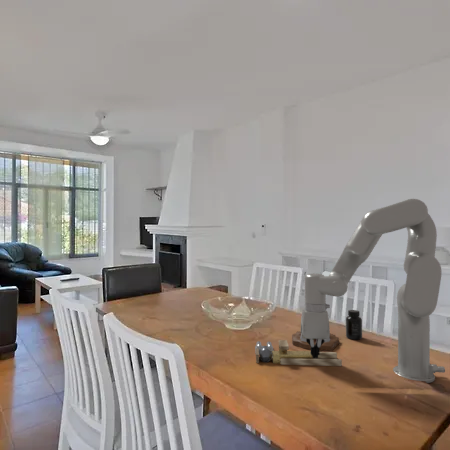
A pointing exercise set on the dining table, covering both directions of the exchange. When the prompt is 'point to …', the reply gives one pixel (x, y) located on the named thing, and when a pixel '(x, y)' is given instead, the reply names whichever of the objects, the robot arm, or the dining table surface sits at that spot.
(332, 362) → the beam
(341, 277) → the robot arm
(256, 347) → the v block
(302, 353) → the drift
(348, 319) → the supplement bottle
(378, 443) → the dining table surface
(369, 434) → the dining table surface
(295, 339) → the plant
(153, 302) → the dining table surface
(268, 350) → the dark grey short cylinder
